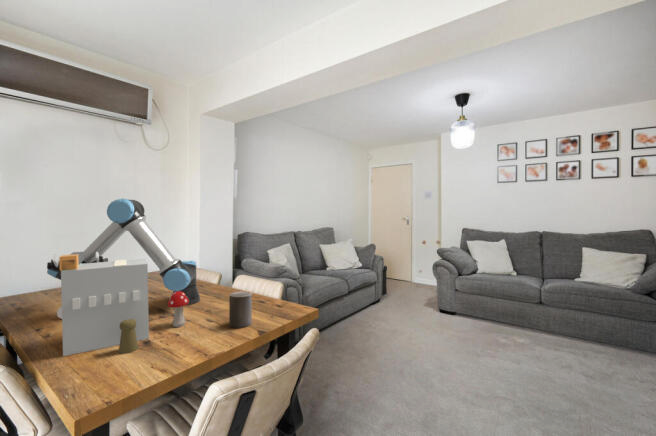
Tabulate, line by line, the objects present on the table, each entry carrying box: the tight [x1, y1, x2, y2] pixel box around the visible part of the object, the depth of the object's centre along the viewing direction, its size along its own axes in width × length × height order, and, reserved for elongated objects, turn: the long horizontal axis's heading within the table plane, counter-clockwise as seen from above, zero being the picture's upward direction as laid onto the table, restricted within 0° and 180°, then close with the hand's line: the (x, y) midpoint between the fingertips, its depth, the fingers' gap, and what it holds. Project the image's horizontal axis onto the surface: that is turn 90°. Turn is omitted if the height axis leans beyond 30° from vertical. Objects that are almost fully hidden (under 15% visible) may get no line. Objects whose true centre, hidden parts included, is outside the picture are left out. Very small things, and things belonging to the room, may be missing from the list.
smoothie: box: [56, 306, 62, 319], centre depth 145 cm, size 6×6×14 cm
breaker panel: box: [60, 258, 150, 357], centre depth 119 cm, size 17×26×30 cm, turn 124°
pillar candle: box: [228, 290, 253, 329], centre depth 135 cm, size 10×10×15 cm
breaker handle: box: [58, 251, 84, 271], centre depth 117 cm, size 26×5×5 cm, turn 34°
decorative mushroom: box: [167, 291, 189, 328], centre depth 135 cm, size 10×9×15 cm
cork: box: [118, 319, 139, 355], centre depth 111 cm, size 6×6×11 cm
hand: (76, 256), depth 124 cm, fingers open, 13 cm apart
